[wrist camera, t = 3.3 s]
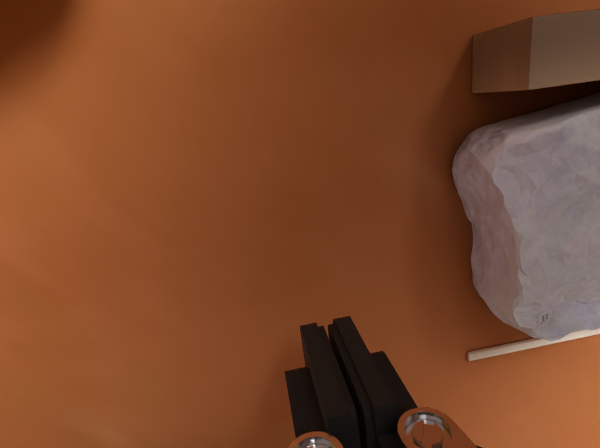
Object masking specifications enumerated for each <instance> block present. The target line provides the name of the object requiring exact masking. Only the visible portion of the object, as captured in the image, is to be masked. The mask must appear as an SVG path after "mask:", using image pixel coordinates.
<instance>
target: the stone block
mask: <svg viewBox="0 0 600 448" xmlns="http://www.w3.org/2000/svg"><path fill="white" fill-rule="evenodd" d="M452 174H453V179H454V183H455V186H456V188H457V193H458V195H459V196H460V198H461V200H462V203H463V207H464V211H465V213H466V216H467V219H468V220H469V221H470V222H471V225H472V230H473V249H472V253H471V266H472V272H473V278H472V280H473V284H474V287H475V289H476V290H477V292H478V293H479V295H480V297H482V298H483V300H484V301H485V302H486V304H487V306H488V307H489V309H490V310H491V311H492V313H493V314H494V315H495V316H496V317H498V318H499V319H500V320H501V321H503V322H504V323H506V324H508V325H510V326H512V327H514V328H516V329H518V330H520V331H522V332H524V333H526V334H527V335H529V336H531V337H533V338H541V339H545V340H549V341H555V340H559V339H561V338H563V337H565V336H567V335H568V334H570V333H572V332H575V331H579V330H584V329H587V330H596V329H599V328H600V92H599V93H596V94H592V95H589V96H586V97H582V98H579V99H575V100H572V101H568V102H565V103H562V104H558V105H555V106H552V107H548V108H546V109H543V110H540V111H536V112H532V113H528V114H524V115H521V116H517V117H513V118H511V119H507V120H502V121H499V122H496V123H492V124H489V125H485V126H482V127H480V128H477V129H476V130H474V131H472V132H471V133H469V134H468V136H467V138H466V139H465V140H464V142H463V143H462V145H461V146H460V147H459V149H458V150H457V152H456V154H455V156H454V158H453V165H452Z"/></svg>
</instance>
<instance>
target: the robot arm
mask: <svg viewBox="0 0 600 448" xmlns="http://www.w3.org/2000/svg"><path fill="white" fill-rule="evenodd" d="M300 331H301V338H302V345H303V352H304V358H305V365H306V367H304V368H299V369H294V370H289V371H285V376H286V382H287V388H288V394H289V400H290V406H291V412H292V418H293V424H294V430H295V436H296V439H295V440H294V441H293V442H292V443H291V444H290V446H289V447H288V448H482V447H479V446H477V445H475V444H474V443H473V442H472V441H471V440H470V439H469V438H468V437H467V435H466V434H465V433H464V432H463V431H462V430H461V429H460V428H459V427H458V426H457V425H456V423H455V422H454V421H453V420H452V419H451V418H449V417H448V416H447V415H446V414H444V413H442V412H440V411H438V410H435V409H431V408H422V407H419V408H418V407H417V405H416V404H415V402H414V400H413V399H412V397H411V396H410V394H409V392H408V391H407V389H406V387H405V386H404V384H403V382H402V381H401V379H400V377H399V376H398V374H397V372H396V371H395V369H394V367H393V366H392V364H391V362H390V361H389V359H388V357H387V356H386V354H385V353H384V352H383V351H380V352H375V353H371V354H370V353H369V351H368V349H367V347H366V345H365V343H364V341H363V340H362V338H361V336H360V334H359V332H358V330H357V329H356V327H355V325H354V323H353V321H352V319H351V318H350V316H347V317H342V318H337V319H333V324H330V325H328V333H329V339H328V336H327V334H326V331H325V329H324V326H320V327H318V326H317V323H312V324H307V325H302V326H300Z"/></svg>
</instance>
